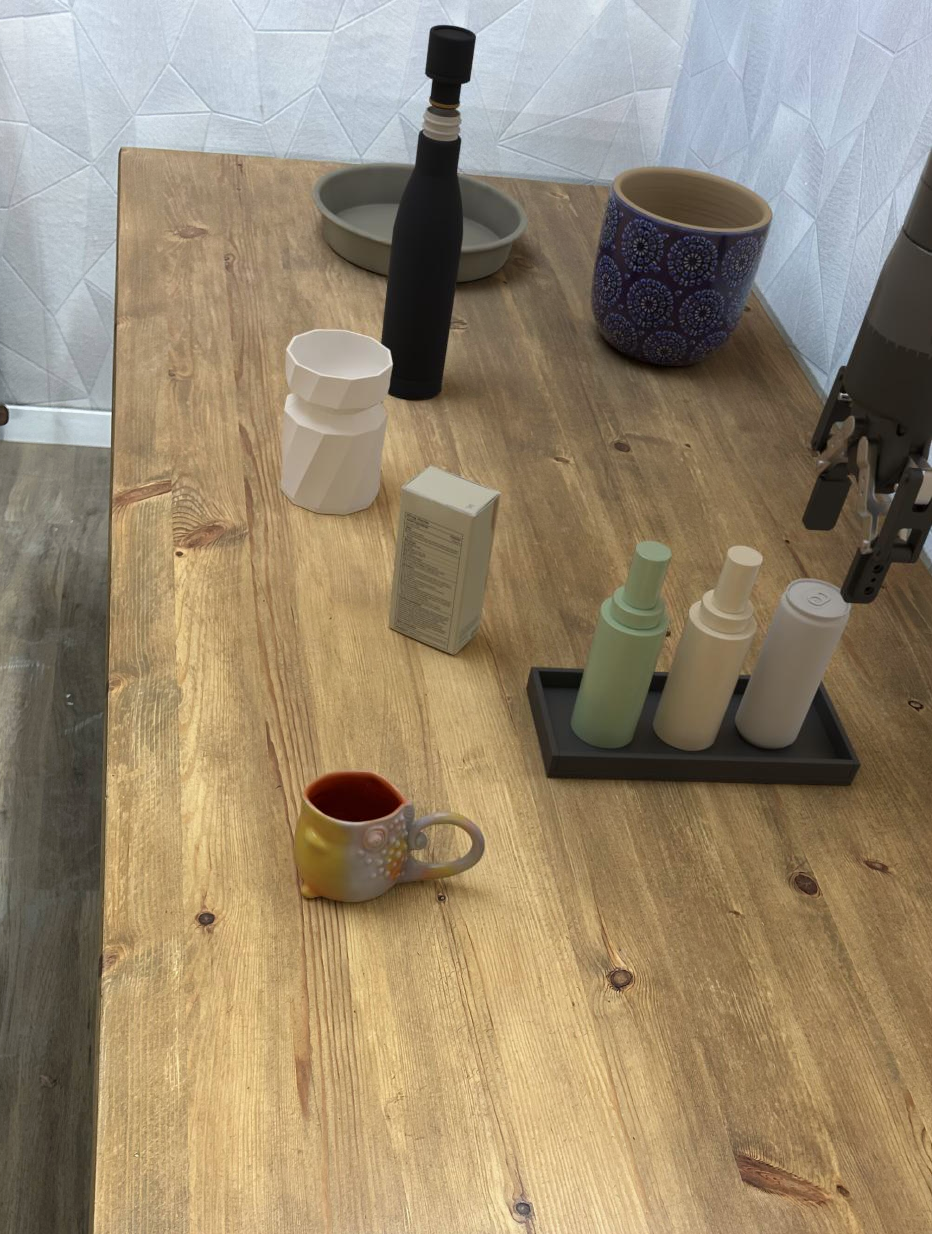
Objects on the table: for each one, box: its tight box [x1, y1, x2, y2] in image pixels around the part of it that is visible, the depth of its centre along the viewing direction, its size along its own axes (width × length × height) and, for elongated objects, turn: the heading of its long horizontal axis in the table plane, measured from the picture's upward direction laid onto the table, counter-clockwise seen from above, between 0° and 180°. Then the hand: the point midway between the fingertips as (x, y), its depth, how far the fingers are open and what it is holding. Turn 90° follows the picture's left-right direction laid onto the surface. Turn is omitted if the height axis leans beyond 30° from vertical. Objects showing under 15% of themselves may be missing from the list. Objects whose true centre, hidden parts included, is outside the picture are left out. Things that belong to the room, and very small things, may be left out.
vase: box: [279, 328, 393, 516], centre depth 113 cm, size 9×9×12 cm
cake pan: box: [311, 162, 529, 284], centre depth 154 cm, size 25×25×4 cm
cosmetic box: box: [387, 465, 502, 656], centre depth 101 cm, size 6×4×12 cm
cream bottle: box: [653, 545, 764, 751], centre depth 95 cm, size 5×5×15 cm
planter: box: [590, 165, 774, 367], centre depth 140 cm, size 16×17×15 cm
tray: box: [525, 666, 862, 786], centre depth 100 cm, size 23×10×2 cm, turn 95°
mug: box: [293, 769, 486, 903], centre depth 85 cm, size 12×7×7 cm, turn 84°
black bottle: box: [380, 24, 477, 401], centre depth 121 cm, size 6×6×30 cm
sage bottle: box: [571, 540, 673, 749], centre depth 94 cm, size 5×5×15 cm
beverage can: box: [735, 578, 852, 749], centre depth 97 cm, size 5×5×12 cm
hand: (835, 562), depth 90 cm, fingers open, 8 cm apart
